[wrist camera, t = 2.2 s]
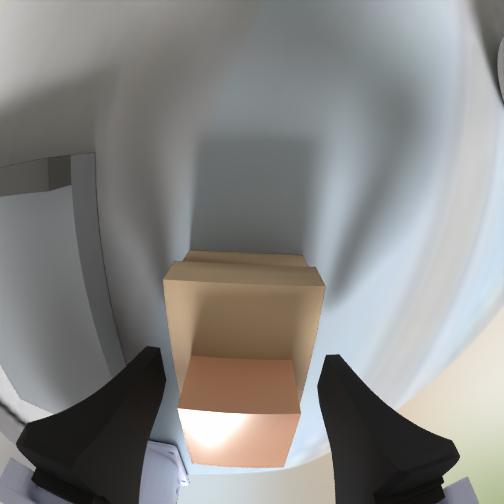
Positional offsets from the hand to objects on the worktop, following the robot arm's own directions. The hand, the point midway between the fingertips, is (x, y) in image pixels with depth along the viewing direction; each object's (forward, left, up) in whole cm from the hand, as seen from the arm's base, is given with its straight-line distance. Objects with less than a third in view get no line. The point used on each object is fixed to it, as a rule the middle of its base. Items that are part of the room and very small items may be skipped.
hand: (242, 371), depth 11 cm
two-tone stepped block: (0, 0, -3) cm, 3 cm away
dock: (0, +13, -3) cm, 13 cm away
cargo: (0, 0, +1) cm, 1 cm away
